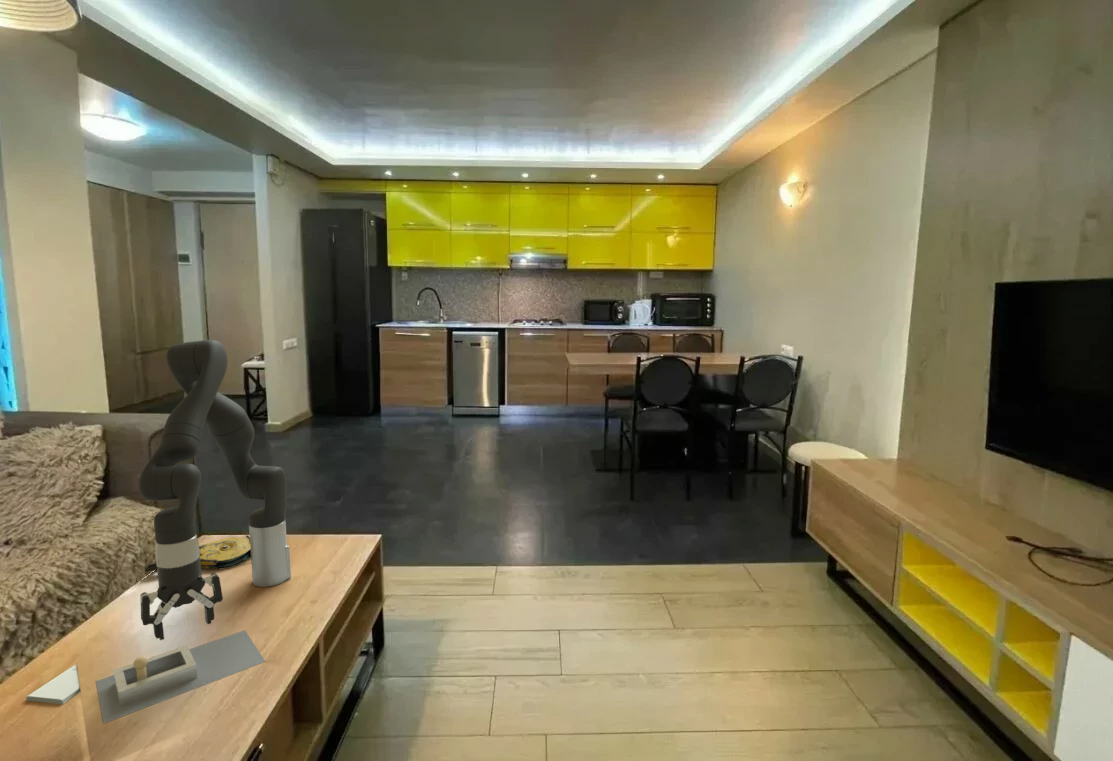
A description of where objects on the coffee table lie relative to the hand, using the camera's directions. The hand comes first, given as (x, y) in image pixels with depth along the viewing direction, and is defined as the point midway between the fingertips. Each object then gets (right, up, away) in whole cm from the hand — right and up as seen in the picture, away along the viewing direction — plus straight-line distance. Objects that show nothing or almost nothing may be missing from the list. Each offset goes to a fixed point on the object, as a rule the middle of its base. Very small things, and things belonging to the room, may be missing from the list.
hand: (185, 630), depth 122 cm
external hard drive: (-22, -11, -1) cm, 25 cm away
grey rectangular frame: (-4, -9, -3) cm, 11 cm away
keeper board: (-1, -10, +1) cm, 10 cm away
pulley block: (-28, -3, +53) cm, 60 cm away
